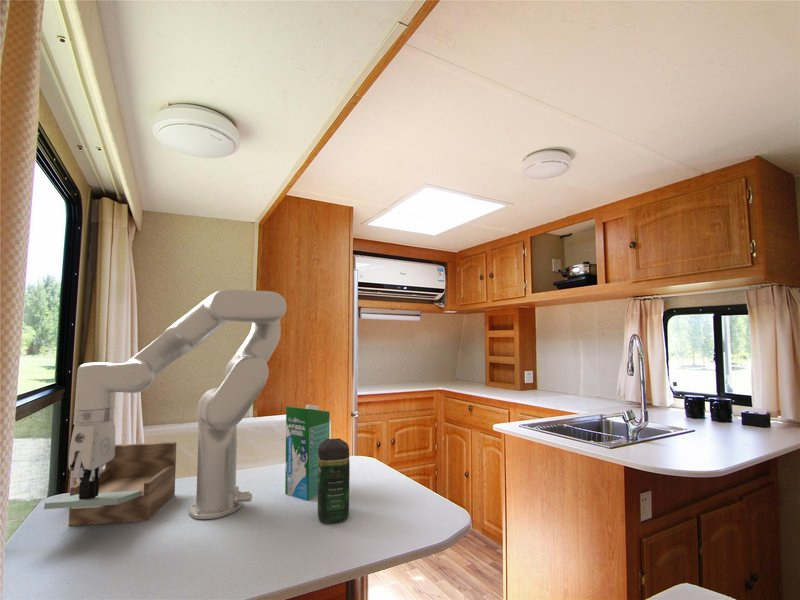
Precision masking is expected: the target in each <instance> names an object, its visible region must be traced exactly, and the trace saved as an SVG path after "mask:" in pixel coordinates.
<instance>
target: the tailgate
mask: <svg viewBox="0 0 800 600" xmlns="http://www.w3.org/2000/svg"><path fill="white" fill-rule="evenodd" d="M141 495H142V490H140V491H123V492H106V493H98V496H96V497H95V498H93V499H79V494H76V495H73V496H70V495H69V496H65V497H62V498H59V499H55V500H52V501H48V502H44V506H43V510H49V509H51V510H52V509H55V510H56V509H66V508H67V509H69V508H71V509H79V508H94V507H102V506H103V505H117V504H120V503H123V502H125V501H128V500H131V499H134V498H136V497H139V496H141Z"/></svg>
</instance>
